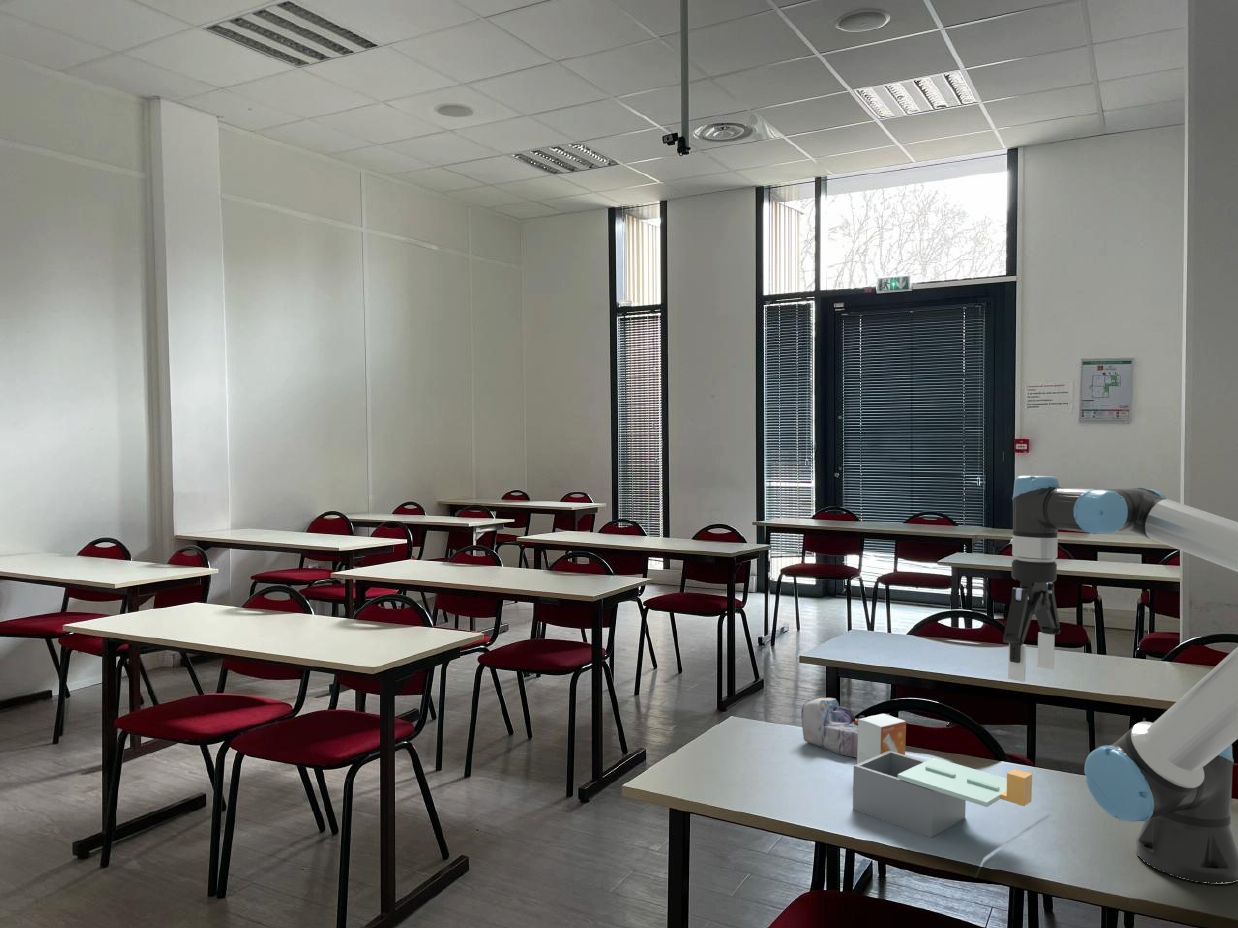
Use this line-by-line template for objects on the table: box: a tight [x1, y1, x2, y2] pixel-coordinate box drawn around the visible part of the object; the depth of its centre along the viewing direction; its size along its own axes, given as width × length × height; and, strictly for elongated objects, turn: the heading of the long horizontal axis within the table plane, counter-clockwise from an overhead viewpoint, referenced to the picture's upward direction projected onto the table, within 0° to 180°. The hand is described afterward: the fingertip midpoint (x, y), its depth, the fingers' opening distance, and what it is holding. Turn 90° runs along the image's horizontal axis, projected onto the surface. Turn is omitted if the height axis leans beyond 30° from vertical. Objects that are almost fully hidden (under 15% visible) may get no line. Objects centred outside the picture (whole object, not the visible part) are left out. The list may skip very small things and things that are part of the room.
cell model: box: [800, 697, 875, 759], centre depth 202 cm, size 13×11×20 cm
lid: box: [898, 757, 1033, 808], centre depth 155 cm, size 21×14×5 cm, turn 42°
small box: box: [856, 713, 907, 764], centre depth 182 cm, size 8×6×13 cm
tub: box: [852, 751, 966, 839], centre depth 164 cm, size 16×13×9 cm
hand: (1031, 673), depth 160 cm, fingers open, 13 cm apart
